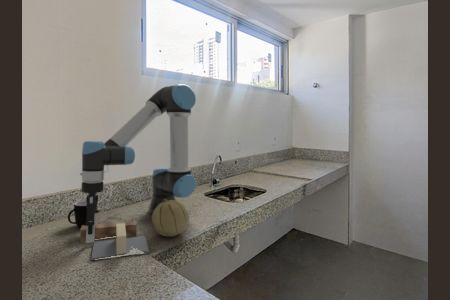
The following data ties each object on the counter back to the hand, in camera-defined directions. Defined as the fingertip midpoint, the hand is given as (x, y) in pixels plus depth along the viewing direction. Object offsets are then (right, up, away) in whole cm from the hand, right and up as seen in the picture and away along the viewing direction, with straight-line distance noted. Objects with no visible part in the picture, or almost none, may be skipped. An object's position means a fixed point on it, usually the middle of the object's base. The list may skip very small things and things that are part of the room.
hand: (91, 235), depth 103 cm
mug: (-10, 0, +12) cm, 16 cm away
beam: (+6, -1, +3) cm, 7 cm away
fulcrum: (+14, -2, -8) cm, 17 cm away
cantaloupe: (+29, -2, +6) cm, 30 cm away
